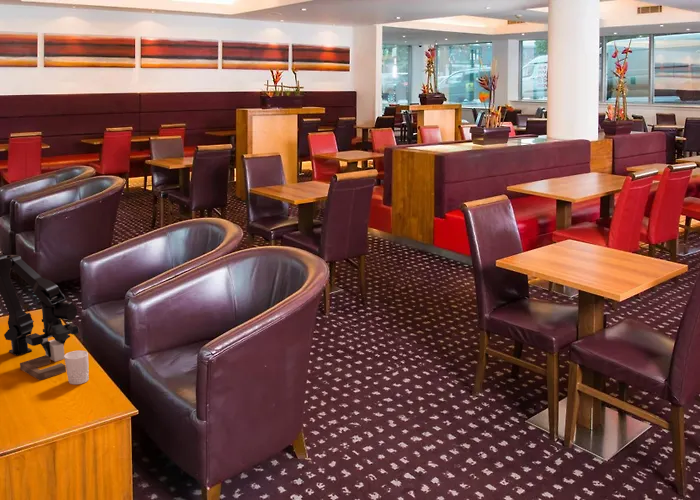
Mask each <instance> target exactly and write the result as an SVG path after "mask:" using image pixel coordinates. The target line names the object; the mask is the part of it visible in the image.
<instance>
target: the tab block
mask: <svg viewBox="0 0 700 500" xmlns="http://www.w3.org/2000/svg"><path fill="white" fill-rule="evenodd" d="M48 341H49V342H50V345H49V346H50V352H51V357H50V361H52V362H54V363H55V362H58V361H62V360H65V358H64V355H65V354H66V353H65V347H64V346H65V344H64V345H63V343H60V342H58V341H56V340H55V339H52V340H48ZM45 355H46V356H48V355H47V353H46V352H45ZM48 357H49V356H48Z"/></svg>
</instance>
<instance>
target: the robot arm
mask: <svg viewBox="0 0 700 500" xmlns="http://www.w3.org/2000/svg"><path fill="white" fill-rule="evenodd" d="M11 270H13V271H14V272H15V273H16V274H17V275H18V276H19V277H20V278H21V279H22V280H24V281H25V282H26V284H28V285H29V286H30V287H31V289H32V290H33V294H34V295H35V296H36V297H37V299H38V300H39V301H38V302H37V303H36V306H40V307H41V312H42V318H41V322H42V323H43V329H42V334H38V333H32V332H33V328H34V320H33V317H32V313H30V312H26V311H24V309H23V308H22V304H21V303H20V299H19V297H18V294H17V292H16V289H15V287H14V284H13V281H12V280H11V279H12V278H11V276H10V274H11ZM0 295H1V296H2V300H3V302H4V305H5V307H6V310H7V314H8V320H7V325H8V329H7V330H6V332H5V333H3V335H4V338H5V340H6V341H10V342H11V349H9V350H8V353H10V354H12V355H14V356H17V357H18V356H19V355H23V354H26V353H30V352H32V351H33V349H31V348H29V345H30V346H32V347H35V346H39V345H40V346H41V347H42V348H43V350H44V351H45V352H46V353H47V355H48V356H49V357H51V352H50V346H49V345H50V342H49V341H50V340H49V339H50V338H52V337H53V339H54V340H56V341H58V342H60V343H63V345H64V346H65V343H66V341H67V340H68V339H69V338H70V337H71V335H76V334H79V333H80V328H79V326H78V325H77V324H74V323H72V322H71V323H67V324H63V321H62V320H66V321H73V320H75V319H76V318H77V314H78V308H77V306H75V305H74V304H73V302H72V301H67V298H66V296H65V295H64V293H63V292H62V291H61V289H60V287H59V286H58V285H57V284H56V283H55V282H53V281H51V280H50V279H47V278H44V277H43V276H41V275H40V274H39V273H38V272H36V271H35V269H33V268H32V267H31V266H30V265H28V264H27V263H26V262H25V260H23V259H22V257H21V255H17V254H9V255H6V254H4V253H0ZM46 353H45V354H46Z"/></svg>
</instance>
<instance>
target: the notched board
mask: <svg viewBox="0 0 700 500" xmlns="http://www.w3.org/2000/svg"><path fill="white" fill-rule="evenodd" d="M50 364H51V359H50V357H48V356H46V354H45V355H42V356H38V357H35V358H33V359H29V360H26V361H22V362H20V363H19V368H20V370H21V371H22V372H24V373H26V374H28V375H29V376H32V377H33V378H35V379H37V380H38V381H42V380H45V379H48V378H51V377H54V376H58V375H60V374H64V373H65V372H66V373H67V370H66V364H65V363H57V364H55V365H51V366H49V367H48V366H47V367H45V368H42V369H39V368H41V367H43V366H46V365H50Z"/></svg>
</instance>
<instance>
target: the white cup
mask: <svg viewBox="0 0 700 500" xmlns="http://www.w3.org/2000/svg"><path fill="white" fill-rule="evenodd" d="M64 354H65V355H64V358H65V359H64V365H65V367H66V374H67V375H66V376H67V380H68V383H69V384H70V385H81V384H85V383H87V382H88V381H89V379H90V378H89V377H90V376H89V375H90V374H89V372H90V371H89V353H88V351H86V350H73V351H69V352H66V353H64Z"/></svg>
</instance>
